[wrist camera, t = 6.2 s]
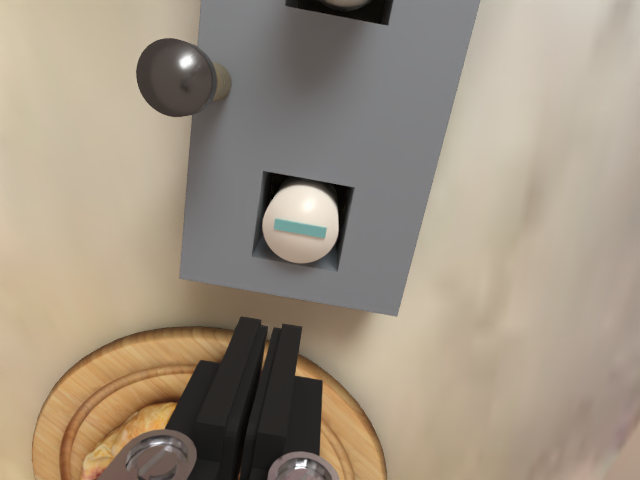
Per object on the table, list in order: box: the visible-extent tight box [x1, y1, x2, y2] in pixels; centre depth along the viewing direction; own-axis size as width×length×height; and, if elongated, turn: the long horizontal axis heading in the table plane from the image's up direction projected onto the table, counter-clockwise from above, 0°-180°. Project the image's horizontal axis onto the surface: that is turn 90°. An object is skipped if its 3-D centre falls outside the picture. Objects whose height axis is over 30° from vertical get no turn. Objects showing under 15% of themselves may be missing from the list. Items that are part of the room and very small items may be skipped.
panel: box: [179, 0, 480, 316], centre depth 27 cm, size 14×24×6 cm, turn 170°
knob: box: [262, 176, 339, 263], centre depth 28 cm, size 4×4×7 cm
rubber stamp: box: [136, 38, 232, 117], centre depth 21 cm, size 3×3×6 cm
